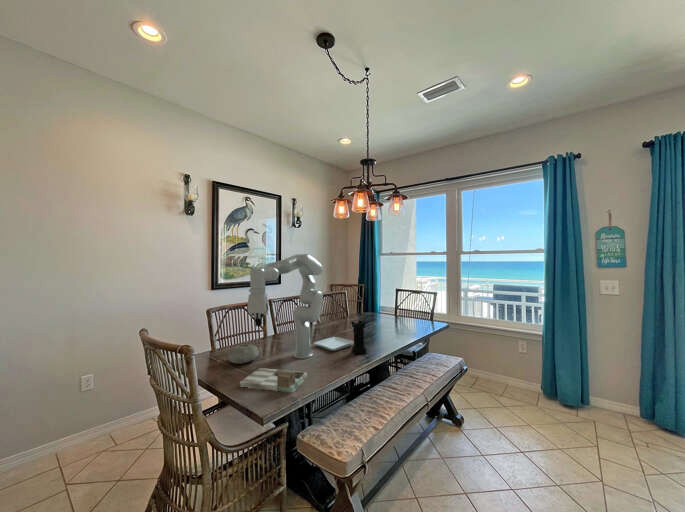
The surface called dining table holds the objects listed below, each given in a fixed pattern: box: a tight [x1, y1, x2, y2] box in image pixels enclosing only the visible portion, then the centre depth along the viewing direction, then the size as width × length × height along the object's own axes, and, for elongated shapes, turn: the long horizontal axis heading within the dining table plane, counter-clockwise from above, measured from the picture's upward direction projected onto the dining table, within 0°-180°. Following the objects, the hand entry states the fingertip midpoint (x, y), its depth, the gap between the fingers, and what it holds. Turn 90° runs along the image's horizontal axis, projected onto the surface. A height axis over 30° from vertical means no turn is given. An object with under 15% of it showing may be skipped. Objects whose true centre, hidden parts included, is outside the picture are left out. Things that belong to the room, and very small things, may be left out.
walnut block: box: [277, 370, 295, 388], centre depth 135 cm, size 6×6×5 cm
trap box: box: [239, 367, 308, 394], centre depth 144 cm, size 18×28×2 cm, turn 75°
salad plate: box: [313, 336, 354, 352], centre depth 199 cm, size 21×21×3 cm
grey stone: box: [227, 343, 259, 365], centre depth 173 cm, size 18×18×10 cm
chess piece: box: [350, 320, 368, 356], centre depth 184 cm, size 8×8×20 cm
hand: (258, 325), depth 150 cm, fingers closed
